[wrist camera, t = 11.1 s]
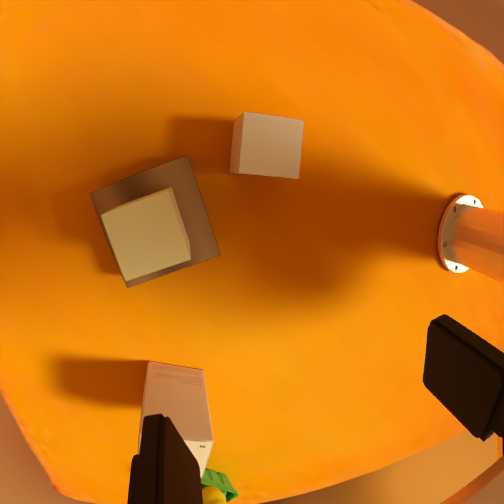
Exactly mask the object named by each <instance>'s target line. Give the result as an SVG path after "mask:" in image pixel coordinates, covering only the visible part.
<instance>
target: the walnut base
mask: <svg viewBox="0 0 504 504" xmlns="http://www.w3.org/2000/svg"><path fill="white" fill-rule="evenodd" d="M170 187H172V190H173V193H174V196H175V199H176V202H177V206H178V209H179V212H180V215H181V218H182V221H183V224H184V227H185V230H186V233H187V236H188V239H189V242H190V255H191V260H188V261H185V262H182V263H179V264H176V265H173V266H170V267H167V268H164V269H161V270H158V271H155V272H152V273H149V274H146V275H143V276H140V277H137V278H134V279H131V280H128V281H126V280H125V278H124V276H123V273H122V271H121V268H120V266H119V263H118V261H117V258H116V256H115V253H114V250H113V248H112V245H111V242H110V240H109V237H108V234H107V231H106V229H105V226H104V223H103V220H102V217H101V215H102V214H104V213H106V212H108V211H110V210H111V209H113V208H115V207H117V206H120V205H122V204H125V203H128V202H130V201H133V200H136V199H139V198H141V197H144V196H147V195H150V194H153V193H155V192H158V191H161V190H164V189H167V188H170ZM90 195H91V198H92V201H93V204H94V207H95V209H96V212H97V215H98V218H99V220H100V223H101V226H102V229H103V231H104V234H105V236H106V239H107V241H108V244H109V247H110V249H111V252H112V254H113V256H114V259H115V261H116V264H117V266H118V268H119V271H120V273H121V275H122V278H123V280H124V282H125V284H126V287H127V288H129V287H132V286H135V285H138V284H140V283H143V282H146V281H149V280H151V279H154V278H157V277H160V276H163V275H165V274H168V273H171V272H174V271H177V270H179V269H182V268H185V267H188V266H191V265H194V264H196V263H199V262H202V261H205V260H208V259H210V258H213V257H216V256H219V255H221V254H220V251H219V248H218V245H217V242H216V239H215V236H214V233H213V230H212V227H211V224H210V221H209V218H208V215H207V212H206V209H205V206H204V203H203V200H202V197H201V194H200V191H199V188H198V185H197V182H196V179H195V176H194V173H193V170H192V166H191V163H190V160H189V157H188V156H185V157H182V158H179V159H176V160H173V161H170V162H168V163H165V164H162V165H159V166H157V167H154V168H151V169H148V170H146V171H143V172H141V173H138V174H135V175H133V176H130V177H128V178H125V179H123V180H120V181H118V182H115V183H113V184H111V185H108V186H106V187H104V188H101V189H99V190H97V191H94V192H92V193H90Z"/></svg>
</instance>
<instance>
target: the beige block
mask: <svg viewBox="0 0 504 504" xmlns="http://www.w3.org/2000/svg"><path fill="white" fill-rule="evenodd" d="M101 217H102V220H103V223H104V226H105V229H106V231H107V234H108V237H109V240H110V242H111V245H112V248H113V250H114V253H115V256H116V258H117V261H118V263H119V266H120V268H121V271H122V273H123V276H124V278H125V280H126V281H128V280H131V279H134V278H137V277H140V276H143V275H146V274H149V273H152V272H155V271H158V270H161V269H164V268H167V267H170V266H173V265H176V264H179V263H182V262H185V261H188V260H191V255H190V242H189V239H188V236H187V233H186V230H185V227H184V224H183V221H182V218H181V215H180V212H179V209H178V206H177V202H176V199H175V196H174V193H173V190H172V187H170V188H167V189H164V190H161V191H158V192H155V193H153V194H150V195H147V196H144V197H141V198H139V199H136V200H133V201H130V202H128V203H125V204H122V205H120V206H117V207H115V208H113V209H111V210H110V211H108V212H106V213H104V214H102V215H101Z"/></svg>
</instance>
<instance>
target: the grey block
mask: <svg viewBox="0 0 504 504" xmlns="http://www.w3.org/2000/svg"><path fill="white" fill-rule="evenodd" d="M303 126H304V120H299V119H293V118H287V117H280V116H273V115H266V114H259V113H250V112H244V113H243V114H241V115H240V116H239V117H238V118H237V119H236V120H235V121H234V125H233V135H232V147H231V158H230V170H229V173H237V174H250V175H261V176H272V177H282V178H294V179H299V173H300V162H301V150H302V138H303Z"/></svg>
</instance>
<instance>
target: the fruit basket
mask: <svg viewBox="0 0 504 504" xmlns="http://www.w3.org/2000/svg"><path fill="white" fill-rule="evenodd" d="M201 487H202V497H203V504H226V503H227V502H229V501H231V500H232V499H234V498H236V497H237V496H238V495H239V494H238V493H237V491H236V490H235V489H234V488H233V486H232V485H231V483H230V481H229V480H228V478H227V476H226V475H225V474H222V473H217V472H216V471H213V470H210V469H206V468H205V471H204V474H203V477H202V478H201Z"/></svg>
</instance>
